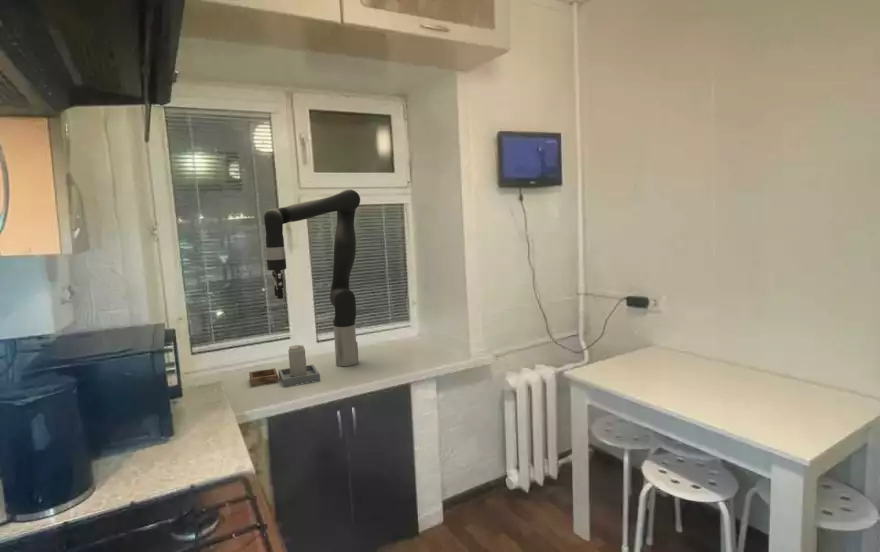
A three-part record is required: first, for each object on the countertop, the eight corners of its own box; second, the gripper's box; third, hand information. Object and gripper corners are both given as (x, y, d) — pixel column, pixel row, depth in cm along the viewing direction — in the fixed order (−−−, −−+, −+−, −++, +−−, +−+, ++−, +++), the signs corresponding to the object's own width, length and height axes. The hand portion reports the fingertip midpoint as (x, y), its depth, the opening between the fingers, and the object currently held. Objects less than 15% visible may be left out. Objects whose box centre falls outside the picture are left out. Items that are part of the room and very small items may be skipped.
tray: (313, 371, 214) (313, 364, 214) (320, 380, 202) (319, 373, 201) (278, 376, 209) (278, 369, 208) (283, 387, 196) (282, 379, 196)
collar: (275, 375, 211) (275, 368, 211) (278, 382, 202) (277, 374, 202) (249, 379, 207) (249, 372, 207) (251, 386, 198) (250, 379, 198)
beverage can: (301, 378, 202) (299, 348, 201) (287, 377, 204) (284, 348, 203) (309, 373, 209) (307, 344, 207) (295, 372, 210) (293, 344, 209)
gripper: (288, 258, 205) (291, 298, 207) (283, 256, 218) (285, 294, 220) (268, 260, 202) (271, 300, 204) (264, 257, 215) (267, 295, 217)
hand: (279, 297), depth 212 cm, fingers open, 8 cm apart
